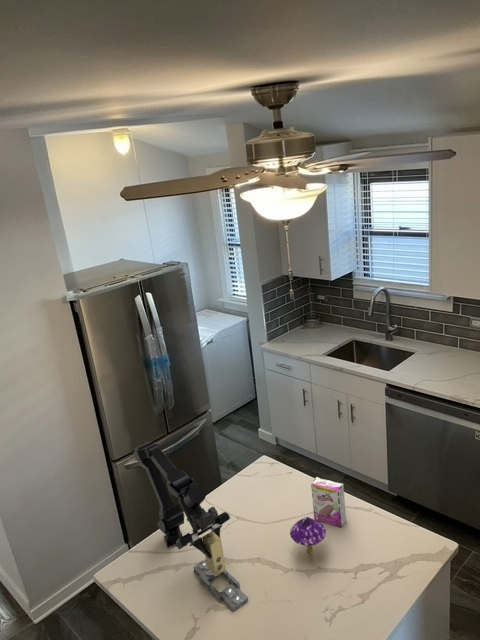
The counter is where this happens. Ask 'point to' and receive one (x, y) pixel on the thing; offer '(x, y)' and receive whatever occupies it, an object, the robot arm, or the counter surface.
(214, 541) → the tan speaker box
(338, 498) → the candy bar box
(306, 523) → the decorative mushroom
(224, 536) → the counter surface
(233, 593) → the chain ends
